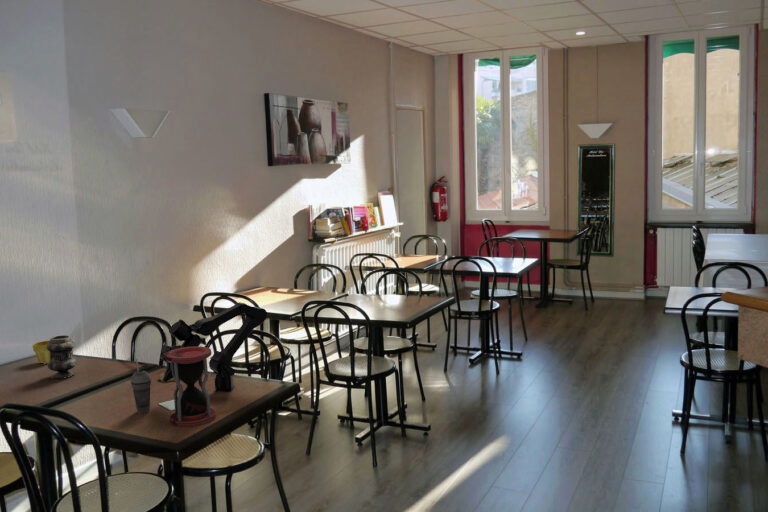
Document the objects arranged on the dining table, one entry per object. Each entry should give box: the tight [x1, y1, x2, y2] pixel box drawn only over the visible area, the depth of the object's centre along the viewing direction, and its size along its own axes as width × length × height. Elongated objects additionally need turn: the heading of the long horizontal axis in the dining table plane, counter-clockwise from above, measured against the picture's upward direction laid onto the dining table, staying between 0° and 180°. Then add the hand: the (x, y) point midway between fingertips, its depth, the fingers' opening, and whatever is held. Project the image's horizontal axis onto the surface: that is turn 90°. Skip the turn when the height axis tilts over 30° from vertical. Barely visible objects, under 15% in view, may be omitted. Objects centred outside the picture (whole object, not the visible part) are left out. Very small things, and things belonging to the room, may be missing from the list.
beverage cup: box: [130, 359, 152, 414], centre depth 269 cm, size 7×7×20 cm
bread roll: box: [158, 370, 181, 383], centre depth 312 cm, size 11×11×5 cm
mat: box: [158, 399, 175, 411], centre depth 277 cm, size 11×11×1 cm
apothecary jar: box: [46, 334, 78, 379], centre depth 321 cm, size 12×12×18 cm
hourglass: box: [165, 345, 217, 427], centre depth 258 cm, size 16×16×25 cm
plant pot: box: [32, 339, 50, 364], centre depth 346 cm, size 10×10×10 cm
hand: (163, 381), depth 275 cm, fingers closed
